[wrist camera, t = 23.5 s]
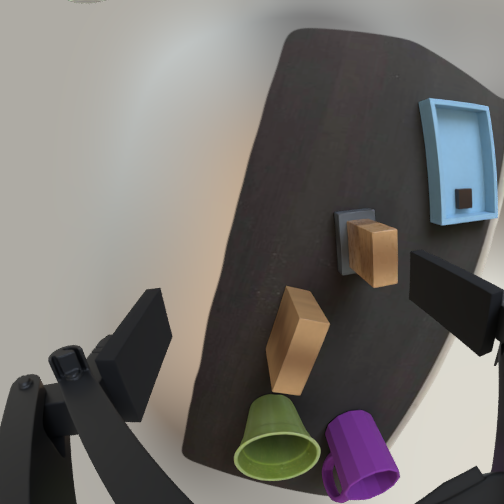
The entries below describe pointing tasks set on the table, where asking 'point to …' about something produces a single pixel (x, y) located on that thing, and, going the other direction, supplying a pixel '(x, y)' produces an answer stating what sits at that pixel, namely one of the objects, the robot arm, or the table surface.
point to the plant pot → (275, 441)
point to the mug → (357, 458)
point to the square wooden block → (295, 341)
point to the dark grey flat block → (463, 198)
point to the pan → (459, 160)
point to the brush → (366, 247)
